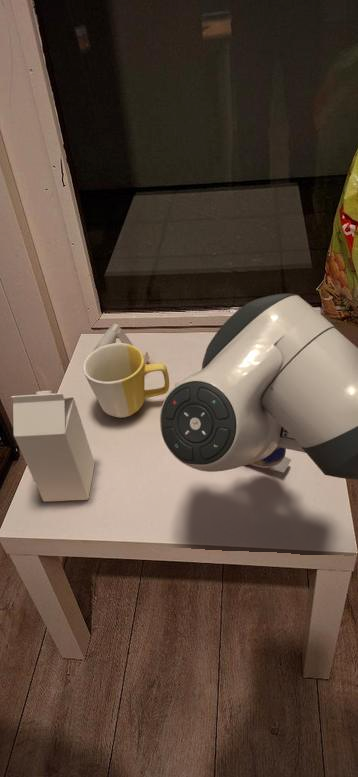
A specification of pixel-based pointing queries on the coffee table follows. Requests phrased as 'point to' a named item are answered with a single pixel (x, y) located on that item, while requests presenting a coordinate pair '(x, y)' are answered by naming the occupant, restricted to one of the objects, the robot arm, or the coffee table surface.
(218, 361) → the robot arm
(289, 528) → the coffee table surface
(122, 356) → the mug
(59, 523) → the coffee table surface
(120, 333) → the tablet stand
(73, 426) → the milk carton
